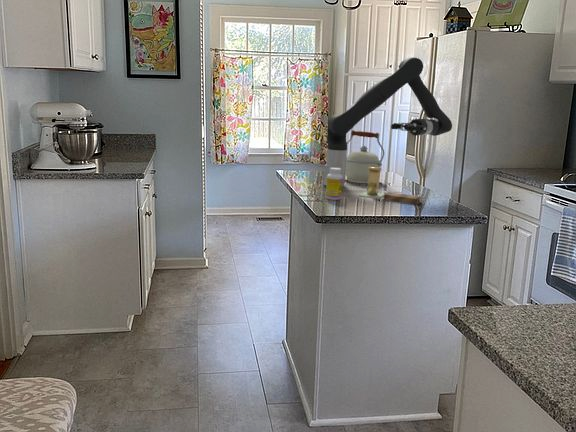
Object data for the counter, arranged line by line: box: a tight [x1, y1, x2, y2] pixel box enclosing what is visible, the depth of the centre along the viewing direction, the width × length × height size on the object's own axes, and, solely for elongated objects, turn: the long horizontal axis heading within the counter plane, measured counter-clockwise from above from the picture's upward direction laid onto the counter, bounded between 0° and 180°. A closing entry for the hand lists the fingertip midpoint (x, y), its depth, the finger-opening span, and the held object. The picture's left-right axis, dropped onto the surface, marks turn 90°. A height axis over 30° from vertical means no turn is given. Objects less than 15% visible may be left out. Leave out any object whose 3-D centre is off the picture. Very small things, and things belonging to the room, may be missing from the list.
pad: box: [358, 191, 386, 200], centre depth 246 cm, size 9×9×1 cm
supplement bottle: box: [325, 168, 343, 201], centre depth 234 cm, size 7×7×13 cm
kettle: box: [345, 130, 385, 184], centre depth 281 cm, size 25×18×25 cm
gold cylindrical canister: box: [366, 167, 382, 195], centre depth 245 cm, size 6×6×12 cm
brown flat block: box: [382, 191, 421, 206], centre depth 238 cm, size 14×7×2 cm, turn 66°
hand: (399, 127), depth 245 cm, fingers open, 8 cm apart
